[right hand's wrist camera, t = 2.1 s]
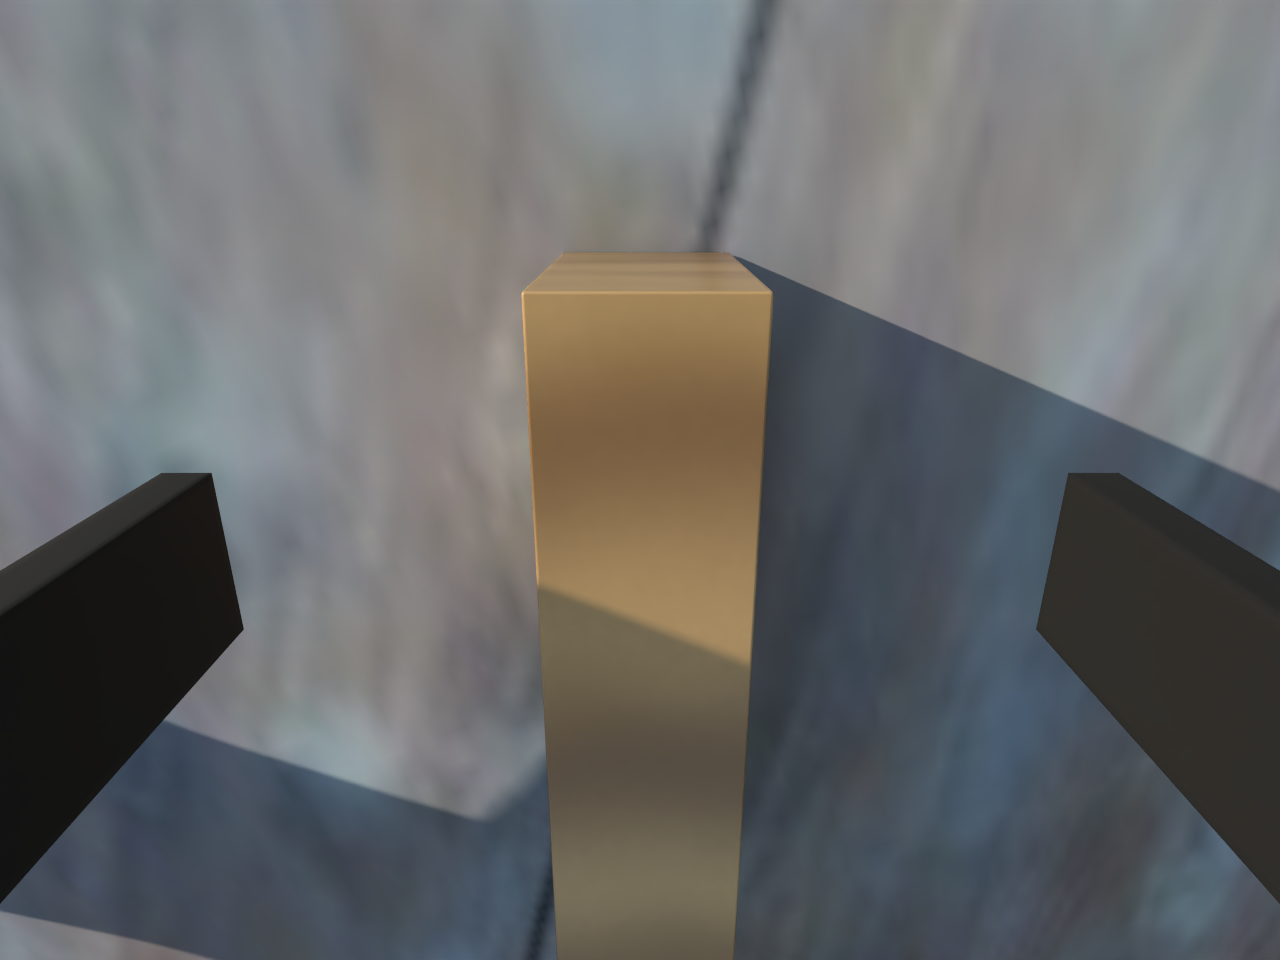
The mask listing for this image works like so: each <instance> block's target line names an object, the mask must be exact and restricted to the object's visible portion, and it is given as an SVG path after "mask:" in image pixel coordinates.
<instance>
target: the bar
mask: <svg viewBox="0 0 1280 960" xmlns="http://www.w3.org/2000/svg"><path fill="white" fill-rule="evenodd" d="M521 296H522V314H523V333H524V351H525V370H526V388H527V407H528V425H529V444H530V462H531V481H532V500H533V518H534V537H535V555H536V574H537V592H538V611H539V629H540V648H541V666H542V685H543V703H544V722H545V740H546V759H547V778H548V796H549V815H550V833H551V852H552V870H553V889H554V907H555V926H556V944H557V960H734V950H735V933H736V917H737V900H738V883H739V867H740V850H741V833H742V816H743V800H744V783H745V766H746V750H747V733H748V716H749V700H750V683H751V666H752V649H753V633H754V616H755V599H756V583H757V566H758V549H759V532H760V516H761V499H762V482H763V466H764V449H765V432H766V415H767V399H768V382H769V365H770V349H771V332H772V315H773V298H774V294H773V292H772V291H771V290H770V289H769V288H768V287H767V286H766V285H765V284H763V283H762V282H761V281H760V280H759V279H758V278H757V277H756V276H754V275H753V274H752V273H751V272H750V271H749V270H748V269H747V268H746V267H744V266H743V265H742V264H741V263H740V262H739V261H738V260H737V259H735V258H734V257H733V256H732V255H731V254H730V253H563V254H562V255H561V256H560V257H559V258H558V259H557V260H556V261H554V262H553V263H552V264H551V265H550V266H549V267H548V268H547V269H546V270H545V271H544V272H543V273H542V274H541V275H540V276H539V277H538V278H536V279H535V280H534V281H533V282H532V283H531V284H530V285H529V286H528V287H527V288H526V289H525V290H524V291H523V292H522V294H521Z"/></svg>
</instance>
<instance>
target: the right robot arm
mask: <svg viewBox="0 0 1280 960" xmlns="http://www.w3.org/2000/svg"><path fill="white" fill-rule="evenodd" d="M243 630H244V628H243V624H242V619H241V614H240V609H239V604H238V599H237V594H236V590H235V585H234V580H233V575H232V570H231V565H230V560H229V556H228V551H227V546H226V541H225V536H224V531H223V526H222V522H221V517H220V512H219V507H218V502H217V497H216V492H215V488H214V483H213V478H212V473H161V474H159V475H158V476H156V477H154V478H153V479H151V480H149V481H148V482H146V483H144V484H143V485H141V486H139V487H138V488H136V489H134V490H133V491H131V492H129V493H128V494H126V495H125V496H123V497H121V498H120V499H118V500H116V501H115V502H113V503H111V504H110V505H108V506H106V507H105V508H103V509H101V510H100V511H98V512H96V513H95V514H93V515H92V516H90V517H88V518H87V519H85V520H83V521H82V522H80V523H78V524H77V525H75V526H73V527H72V528H70V529H68V530H67V531H65V532H64V533H62V534H60V535H59V536H57V537H55V538H54V539H52V540H50V541H49V542H47V543H45V544H44V545H42V546H40V547H39V548H37V549H35V550H34V551H32V552H31V553H29V554H27V555H26V556H24V557H22V558H21V559H19V560H17V561H16V562H14V563H12V564H11V565H9V566H7V567H6V568H4V569H2V570H1V571H0V903H1V902H2V901H3V900H4V899H5V898H6V896H7V895H8V894H9V893H10V892H11V891H12V890H13V889H14V887H15V886H16V885H17V884H18V883H19V882H20V881H21V880H22V878H23V877H24V876H25V875H26V874H27V873H28V872H29V871H30V869H31V868H32V867H33V866H34V865H35V864H36V863H37V862H38V860H39V859H40V858H41V857H42V856H43V855H44V854H45V853H46V851H47V850H48V849H49V848H50V847H51V846H52V845H53V844H54V842H55V841H56V840H57V839H58V838H59V837H60V836H61V835H62V833H63V832H64V831H65V830H66V829H67V828H68V827H69V826H70V824H71V823H72V822H73V821H74V820H75V819H76V818H77V816H78V815H79V814H80V813H81V812H82V811H83V810H84V809H85V807H86V806H87V805H88V804H89V803H90V802H91V801H92V800H93V798H94V797H95V796H96V795H97V794H98V793H99V792H100V791H101V789H102V788H103V787H104V786H105V785H106V784H107V783H108V782H109V780H110V779H111V778H112V777H113V776H114V775H115V774H116V773H117V771H118V770H119V769H120V768H121V767H122V766H123V765H124V764H125V762H126V761H127V760H128V759H129V758H130V757H131V756H132V755H133V753H134V752H135V751H136V750H137V749H138V748H139V747H140V746H141V744H142V743H143V742H144V741H145V740H146V739H147V738H148V737H149V735H150V734H151V733H152V732H153V731H154V730H155V729H156V728H157V726H158V725H159V724H160V723H161V722H162V721H163V720H164V719H165V717H166V716H167V715H168V714H169V713H170V712H171V711H172V709H173V708H174V707H175V706H176V705H177V704H178V703H179V702H180V700H181V699H182V698H183V697H184V696H185V695H186V694H187V693H188V691H189V690H190V689H191V688H192V687H193V686H194V685H195V684H196V682H197V681H198V680H199V679H200V678H201V677H202V676H203V675H204V673H205V672H206V671H207V670H208V669H209V668H210V667H211V666H212V664H213V663H214V662H215V661H216V660H217V659H218V658H219V657H220V655H221V654H222V653H223V652H224V651H225V650H226V649H227V648H228V646H229V645H230V644H231V643H232V642H233V641H234V640H235V639H236V637H237V636H238V635H239V634H240V633H241V632H242V631H243ZM1036 630H1037V631H1038V632H1039V633H1040V634H1041V635H1042V636H1043V637H1044V639H1045V640H1046V641H1047V642H1048V643H1049V644H1050V645H1051V646H1052V648H1053V649H1054V650H1055V651H1056V652H1057V653H1058V654H1059V655H1060V657H1061V658H1062V659H1063V660H1064V661H1065V662H1066V663H1067V664H1068V666H1069V667H1070V668H1071V669H1072V670H1073V671H1074V672H1075V673H1076V675H1077V676H1078V677H1079V678H1080V679H1081V680H1082V681H1083V682H1084V684H1085V685H1086V686H1087V687H1088V688H1089V689H1090V690H1091V691H1092V693H1093V694H1094V695H1095V696H1096V697H1097V698H1098V699H1099V700H1100V702H1101V703H1102V704H1103V705H1104V706H1105V707H1106V708H1107V709H1108V711H1109V712H1110V713H1111V714H1112V715H1113V716H1114V717H1115V719H1116V720H1117V721H1118V722H1119V723H1120V724H1121V725H1122V726H1123V728H1124V729H1125V730H1126V731H1127V732H1128V733H1129V734H1130V735H1131V737H1132V738H1133V739H1134V740H1135V741H1136V742H1137V743H1138V744H1139V746H1140V747H1141V748H1142V749H1143V750H1144V751H1145V752H1146V753H1147V755H1148V756H1149V757H1150V758H1151V759H1152V760H1153V761H1154V762H1155V764H1156V765H1157V766H1158V767H1159V768H1160V769H1161V770H1162V771H1163V773H1164V774H1165V775H1166V776H1167V777H1168V778H1169V779H1170V780H1171V782H1172V783H1173V784H1174V785H1175V786H1176V787H1177V788H1178V789H1179V791H1180V792H1181V793H1182V794H1183V795H1184V796H1185V797H1186V798H1187V800H1188V801H1189V802H1190V803H1191V804H1192V805H1193V806H1194V807H1195V809H1196V810H1197V811H1198V812H1199V813H1200V814H1201V815H1202V816H1203V818H1204V819H1205V820H1206V821H1207V822H1208V823H1209V824H1210V826H1211V827H1212V828H1213V829H1214V830H1215V831H1216V832H1217V833H1218V835H1219V836H1220V837H1221V838H1222V839H1223V840H1224V841H1225V842H1226V844H1227V845H1228V846H1229V847H1230V848H1231V849H1232V850H1233V851H1234V853H1235V854H1236V855H1237V856H1238V857H1239V858H1240V859H1241V860H1242V862H1243V863H1244V864H1245V865H1246V866H1247V867H1248V868H1249V869H1250V871H1251V872H1252V873H1253V874H1254V875H1255V876H1256V877H1257V878H1258V880H1259V881H1260V882H1261V883H1262V884H1263V885H1264V886H1265V887H1266V889H1267V890H1268V891H1269V892H1270V893H1271V894H1272V895H1273V896H1274V898H1275V899H1276V900H1277V901H1278V902H1279V903H1280V571H1279V570H1278V569H1276V568H1274V567H1273V566H1271V565H1269V564H1268V563H1266V562H1264V561H1263V560H1261V559H1259V558H1258V557H1256V556H1254V555H1253V554H1251V553H1249V552H1248V551H1246V550H1245V549H1243V548H1241V547H1240V546H1238V545H1236V544H1235V543H1233V542H1231V541H1230V540H1228V539H1226V538H1225V537H1223V536H1221V535H1220V534H1218V533H1216V532H1215V531H1213V530H1212V529H1210V528H1208V527H1207V526H1205V525H1203V524H1202V523H1200V522H1198V521H1197V520H1195V519H1193V518H1192V517H1190V516H1188V515H1187V514H1185V513H1184V512H1182V511H1180V510H1179V509H1177V508H1175V507H1174V506H1172V505H1170V504H1169V503H1167V502H1165V501H1164V500H1162V499H1160V498H1159V497H1157V496H1155V495H1154V494H1152V493H1151V492H1149V491H1147V490H1146V489H1144V488H1142V487H1141V486H1139V485H1137V484H1136V483H1134V482H1132V481H1131V480H1129V479H1127V478H1126V477H1124V476H1122V475H1121V474H1119V473H1068V478H1067V483H1066V488H1065V492H1064V497H1063V502H1062V507H1061V512H1060V517H1059V522H1058V526H1057V531H1056V536H1055V541H1054V546H1053V551H1052V556H1051V560H1050V565H1049V570H1048V575H1047V580H1046V585H1045V590H1044V594H1043V599H1042V604H1041V609H1040V614H1039V619H1038V624H1037V628H1036Z"/></svg>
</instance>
